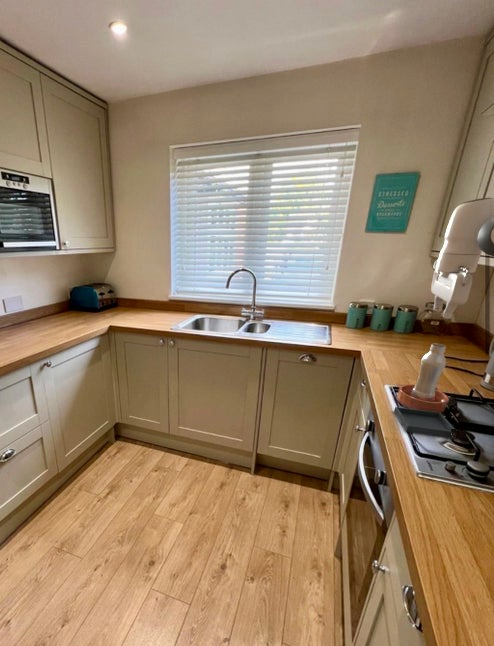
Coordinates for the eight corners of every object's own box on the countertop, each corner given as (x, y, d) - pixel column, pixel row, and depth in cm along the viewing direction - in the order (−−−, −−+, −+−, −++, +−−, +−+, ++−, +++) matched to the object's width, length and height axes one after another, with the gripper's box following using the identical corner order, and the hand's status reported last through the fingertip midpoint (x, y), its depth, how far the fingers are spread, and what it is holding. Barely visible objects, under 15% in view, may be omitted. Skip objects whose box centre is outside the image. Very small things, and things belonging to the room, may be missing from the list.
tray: (438, 417, 100) (440, 412, 99) (455, 438, 90) (458, 432, 89) (393, 412, 103) (395, 406, 102) (405, 431, 93) (407, 425, 92)
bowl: (434, 397, 113) (438, 386, 111) (452, 416, 101) (456, 405, 99) (391, 392, 116) (394, 382, 114) (404, 411, 104) (407, 399, 102)
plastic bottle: (411, 406, 106) (429, 347, 98) (406, 397, 112) (423, 341, 104) (435, 409, 104) (455, 350, 96) (428, 400, 110) (447, 343, 102)
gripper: (485, 268, 81) (467, 323, 86) (458, 262, 98) (444, 308, 103) (454, 267, 83) (438, 321, 88) (433, 261, 100) (420, 306, 106)
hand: (441, 314), depth 96 cm, fingers open, 8 cm apart
